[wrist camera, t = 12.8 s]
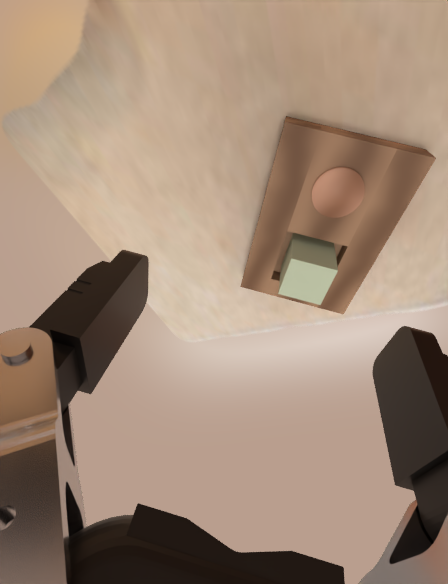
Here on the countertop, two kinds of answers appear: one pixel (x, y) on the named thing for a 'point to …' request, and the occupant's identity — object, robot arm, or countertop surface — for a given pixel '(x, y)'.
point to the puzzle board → (342, 231)
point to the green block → (308, 269)
